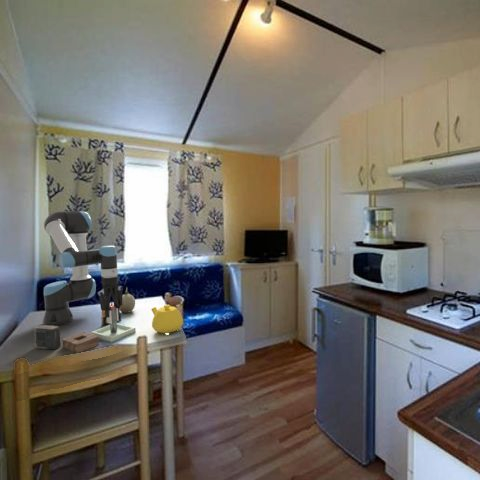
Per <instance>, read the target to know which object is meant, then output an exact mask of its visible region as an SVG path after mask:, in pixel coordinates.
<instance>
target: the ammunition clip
mask: <svg viewBox="0 0 480 480" xmlns="http://www.w3.org/2000/svg"><path fill="white" fill-rule="evenodd" d="M110 306H114V303H113V302H112V301H110ZM118 318H119V321H117V323H119V322H122V316H121V311H120V310H119V314H118ZM100 320H101V326H102V327H106V326H108V325H110V323H107V317H106V316H105V311H103V310H101V319H100Z"/></svg>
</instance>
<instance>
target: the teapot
mask: <svg viewBox="0 0 480 480" xmlns="http://www.w3.org/2000/svg"><path fill="white" fill-rule="evenodd" d="M151 312H152V314H153V319H152V322H151V327H152V329H153V330H154V331H155V332H160V333H159V334H161V333H163V334H165V333H169V332H170V333H172V332H173V333H174V332H177V331H176V330H180V331H181V328H182V326H183V325H184V319H183V316H182V314H181V312H180V311H179V310H178V308H177V307H176V306H171V305H170V304H165V305H163V306H162V307H159V308H158V309H157V307H153V308H151Z"/></svg>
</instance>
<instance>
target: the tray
mask: <svg viewBox="0 0 480 480" xmlns="http://www.w3.org/2000/svg"><path fill="white" fill-rule="evenodd" d="M136 332H137V331H136V327H135V326H130V325H125V324H122V323H119V322H117V332H115V333H110V324H109V325H106V326H102V327H100V328H98V329H96V330H93V331H91V333H90V334H92V335H96V336H98V340H102V341H105V342H109V343H114V342H117V341H119V340H122V339H123V338H125V337H126V338H127V336H131V335H133V334H134V333H135V334H136Z"/></svg>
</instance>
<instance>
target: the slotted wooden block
mask: <svg viewBox="0 0 480 480" xmlns="http://www.w3.org/2000/svg"><path fill="white" fill-rule="evenodd" d="M61 340H62V341H61V342H62V348H63V349H66V350H68V351H70V352H73V353H76V354H78V353H77V352H80V353H82V352H85V351H87V350H89V349H91V348H93V347H96V346H99V345H100V343H99V339H98V336H96V335H92V334H91V333H88V332H86V331H82V332H79V333H77V334H73V335H70V336H68V337H65V338H63V339H61Z"/></svg>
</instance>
